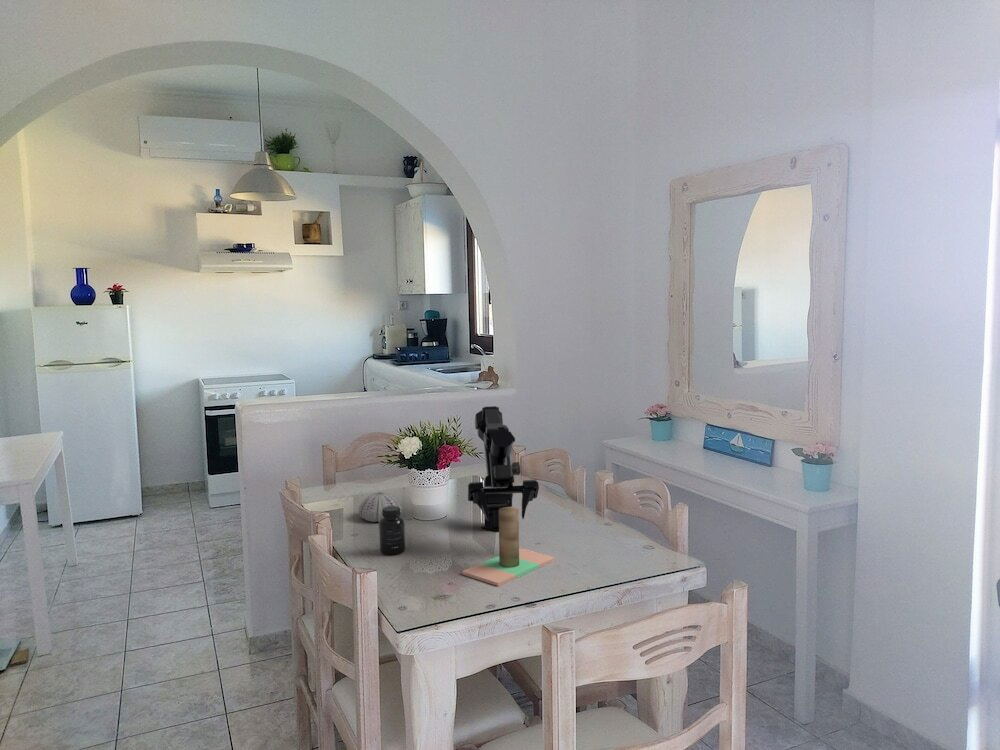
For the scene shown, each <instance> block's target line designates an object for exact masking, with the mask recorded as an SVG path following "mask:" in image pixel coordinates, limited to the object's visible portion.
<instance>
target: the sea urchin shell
mask: <svg viewBox="0 0 1000 750" xmlns="http://www.w3.org/2000/svg"><path fill="white" fill-rule="evenodd" d="M401 505H402V504H401V503H400V502H399V500H397V497H395V496H394V495H392V494H390V493H388V492H386V491H378V492H373V493H371V494H369V495H368V496H367V497H366V498H365V499H363V501H362V502H361V503H360V505H359V508H358V514H359V516H360V517H361V519H363V520H366V521H368V522H371V523H376V522H378V523H379V521H380V519H381V518H383V516H382V509H383V508H384V507H388V506H397V507H400V512H401V513H402V506H401Z"/></svg>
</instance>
